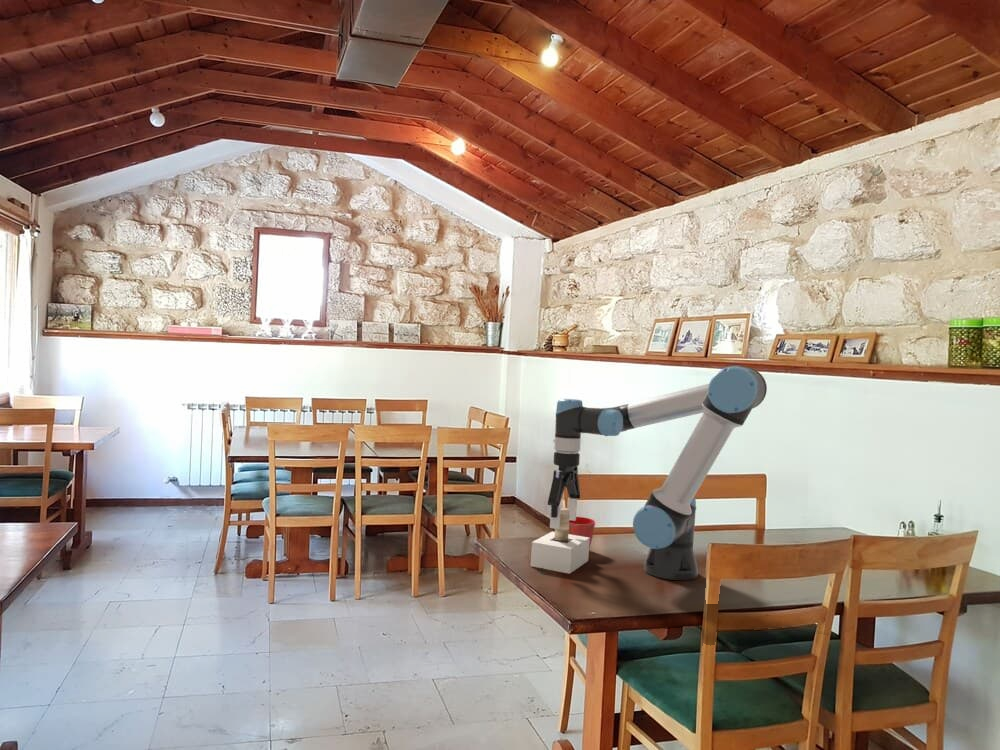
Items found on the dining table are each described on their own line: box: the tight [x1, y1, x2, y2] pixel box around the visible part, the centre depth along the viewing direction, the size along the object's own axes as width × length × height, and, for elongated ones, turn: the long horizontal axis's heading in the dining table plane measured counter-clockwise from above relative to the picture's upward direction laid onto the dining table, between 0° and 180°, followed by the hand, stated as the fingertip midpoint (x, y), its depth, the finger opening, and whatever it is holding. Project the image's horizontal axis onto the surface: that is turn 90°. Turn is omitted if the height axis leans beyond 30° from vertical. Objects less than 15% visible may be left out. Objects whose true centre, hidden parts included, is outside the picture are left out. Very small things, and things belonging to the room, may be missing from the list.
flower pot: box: [569, 516, 596, 550], centre depth 235 cm, size 11×11×10 cm
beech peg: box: [554, 507, 570, 543], centre depth 219 cm, size 4×4×14 cm
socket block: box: [529, 531, 590, 574], centre depth 219 cm, size 12×16×7 cm
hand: (563, 524), depth 219 cm, fingers open, 13 cm apart
